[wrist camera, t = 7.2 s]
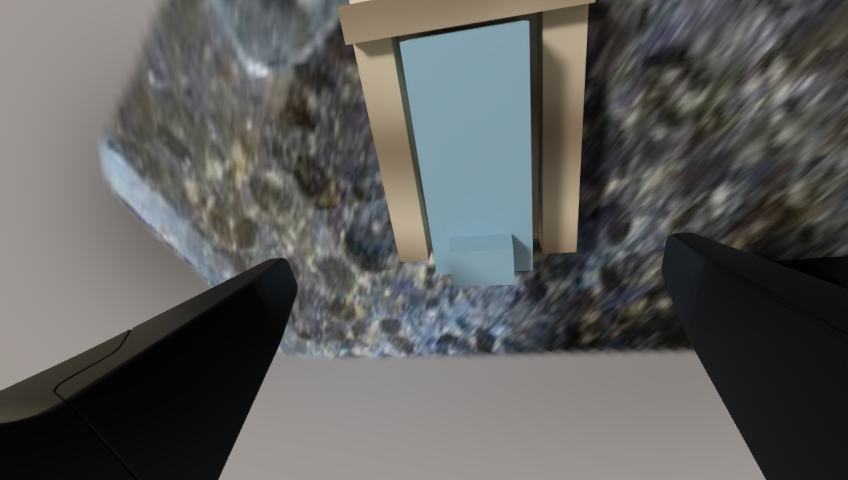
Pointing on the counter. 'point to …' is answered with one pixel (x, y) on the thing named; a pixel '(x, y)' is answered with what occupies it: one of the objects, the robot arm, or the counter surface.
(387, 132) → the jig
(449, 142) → the blue stepped block
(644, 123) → the counter surface
